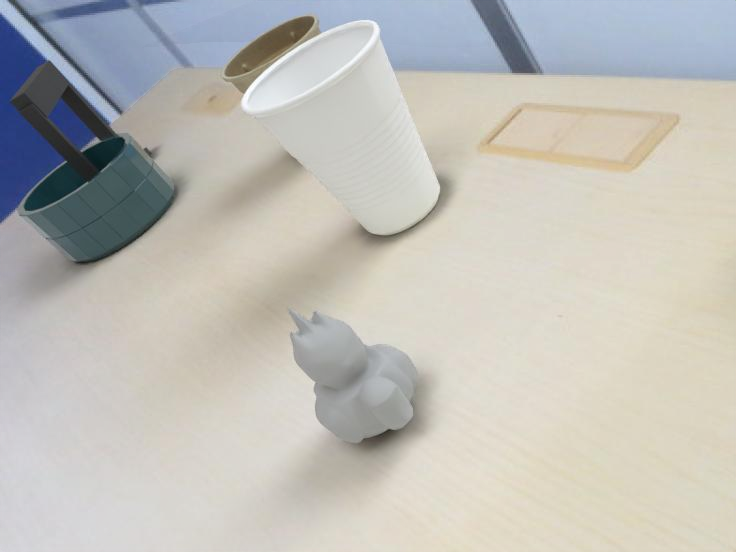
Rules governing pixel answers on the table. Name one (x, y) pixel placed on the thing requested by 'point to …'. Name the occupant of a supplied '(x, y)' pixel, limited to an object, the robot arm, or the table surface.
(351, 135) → the cup
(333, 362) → the grey horned figurine
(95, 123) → the dark grey frame
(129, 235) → the teal short open cylinder
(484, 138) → the table surface
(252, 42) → the flower pot
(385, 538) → the table surface
